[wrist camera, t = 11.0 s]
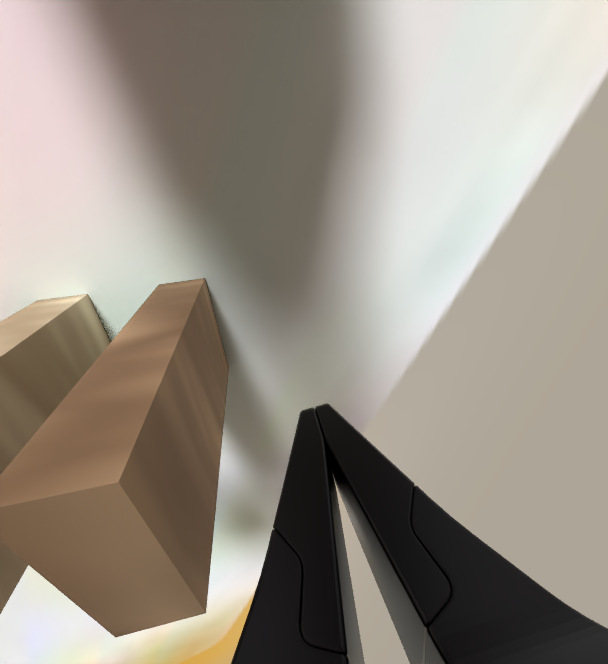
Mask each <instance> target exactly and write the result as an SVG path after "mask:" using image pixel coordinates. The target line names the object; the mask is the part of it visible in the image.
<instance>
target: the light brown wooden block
mask: <svg viewBox="0 0 608 664" xmlns="http://www.w3.org/2000/svg"><path fill="white" fill-rule="evenodd" d="M110 343H111V342H110V340H109V338H108V336H107V334H106V332H105V330H104V328H103V325H102V323H101V321H100V319H99V317H98V315H97V313H96V311H95V309H94V307H93V305H92V302H91V300H90V298H89V296H88V294H85V295H77V296H70V297H62V298H54V299H46V300H38V301H36V302H34V303H32V304H31V305H29V306H27V307H25V308H24V309H22V310H20V311H18V312H17V313H15V314H13V315H11V316H10V317H8V318H6V319H5V320H3V321H1V322H0V475H1V474H2V473H3V471H4V470H5V469H6V468H7V467H8V465H9V464H10V463H11V462H12V461H13V459H14V458H15V457H16V456H17V455H18V453H19V452H20V451H21V450H22V449H23V447H24V446H25V445H26V444H27V443H28V441H29V440H30V439H31V438H32V437H33V435H34V434H35V433H36V432H37V431H38V429H39V428H40V427H41V426H42V425H43V423H44V422H45V421H46V420H47V419H48V417H49V416H50V415H51V414H52V413H53V411H54V410H55V409H56V408H57V407H58V405H59V404H60V403H61V402H62V401H63V399H64V398H65V397H66V396H67V395H68V393H69V392H70V391H71V390H72V389H73V387H74V386H75V385H76V384H77V383H78V381H79V380H80V379H81V378H82V377H83V375H84V374H85V373H86V372H87V371H88V369H89V368H90V367H91V366H92V365H93V363H94V362H95V361H96V360H97V359H98V357H99V356H100V355H101V354H102V353H103V351H104V350H105V349H106V348H107V347H108V345H109V344H110ZM27 566H28V564H27V563H26V562H25V561H24V560H22V559H21V558H20V557H19V556H18V555H16V554H15V553H14V552H13V551H12V550H10V549H9V548H8V547H7V546H6V545H4V544H3V543H2V542H1V541H0V614H1V612H2V610H3V608H4V607H5V605H6V603H7V601H8V600H9V598H10V596H11V594H12V593H13V591H14V589H15V587H16V585H17V584H18V582H19V580H20V578H21V577H22V575H23V573H24V571H25V570H26V568H27Z"/></svg>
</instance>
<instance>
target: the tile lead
mask: <svg viewBox="0 0 608 664" xmlns="http://www.w3.org/2000/svg"><path fill="white" fill-rule="evenodd" d="M228 371H229V366H228V362H227V359H226V355H225V351H224V348H223V344H222V340H221V337H220V333H219V329H218V325H217V322H216V318H215V314H214V311H213V307H212V303H211V300H210V296H209V292H208V289H207V285H206V281H205V278H203V279H196V280H189V281H181V282H174V283H167V284H160V285H158V286H157V288H156V289H155V290H154V291H153V292H152V294H151V295H150V296H149V297H148V298H147V300H146V301H145V302H144V303H143V304H142V306H141V307H140V308H139V309H138V311H137V312H136V313H135V314H134V315H133V317H132V318H131V319H130V320H129V321H128V323H127V324H126V325H125V326H124V327H123V329H122V330H121V331H120V332H119V333H118V335H117V336H116V337H115V338H114V339H113V341H112V342H111V343H110V344H109V345H108V347H107V348H106V349H105V350H104V351H103V353H102V354H101V355H100V356H99V357H98V359H97V360H96V361H95V362H94V363H93V365H92V366H91V367H90V368H89V369H88V371H87V372H86V373H85V374H84V375H83V377H82V378H81V379H80V380H79V381H78V383H77V384H76V385H75V386H74V387H73V389H72V390H71V391H70V392H69V393H68V395H67V396H66V397H65V398H64V399H63V401H62V402H61V403H60V404H59V405H58V407H57V408H56V409H55V410H54V411H53V413H52V414H51V415H50V416H49V417H48V419H47V420H46V421H45V422H44V423H43V425H42V426H41V427H40V428H39V429H38V431H37V432H36V433H35V434H34V435H33V437H32V438H31V439H30V440H29V441H28V443H27V444H26V445H25V446H24V447H23V449H22V450H21V451H20V452H19V453H18V455H17V456H16V457H15V458H14V459H13V461H12V462H11V463H10V464H9V465H8V467H7V468H6V469H5V470H4V471H3V473H2V474H1V475H0V541H1V542H2V543H3V544H4V545H6V546H7V547H8V548H9V549H10V550H12V551H13V552H14V553H15V554H16V555H18V556H19V557H20V558H21V559H22V560H24V561H25V562H26V563H27V564H28V565H30V566H31V567H32V568H33V569H34V570H36V571H37V572H38V573H39V574H40V575H42V576H43V577H44V578H45V579H46V580H48V581H49V582H50V583H51V584H52V585H53V586H55V587H56V588H57V589H58V590H59V591H61V592H62V593H63V594H64V595H65V596H67V597H68V598H69V599H70V600H71V601H73V602H74V603H75V604H76V605H77V606H79V607H80V608H81V609H82V610H83V611H85V612H86V613H87V614H88V615H89V616H91V617H92V618H93V619H94V620H95V621H97V622H98V623H99V624H100V625H101V626H103V627H104V628H105V629H106V630H107V631H109V632H110V633H111V634H112V635H113V636H115V637H119V636H123V635H126V634H130V633H134V632H137V631H141V630H145V629H149V628H152V627H156V626H160V625H163V624H167V623H171V622H174V621H178V620H182V619H186V618H189V617H193V616H197V615H200V614H204V613H206V606H207V595H208V585H209V574H210V563H211V553H212V542H213V531H214V521H215V510H216V499H217V488H218V478H219V467H220V456H221V446H222V435H223V424H224V414H225V403H226V392H227V381H228Z"/></svg>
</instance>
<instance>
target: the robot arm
mask: <svg viewBox="0 0 608 664" xmlns="http://www.w3.org/2000/svg"><path fill="white" fill-rule="evenodd" d="M333 476H334V477H333ZM334 479H335V482H334ZM335 483H336V485H337V488H338V490H339V493H340V495H341V498H342V500H343V502H344V505H345V507H346V510H347V512H348V514H349V517H350V519H351V522H352V524H353V526H354V529H355V532H356V534H357V536H358V539H359V541H360V544H361V546H362V548H363V551H364V553H365V555H366V558H367V561H368V563H369V565H370V568H371V570H372V573H373V575H374V577H375V580H376V582H377V585H378V587H379V589H380V592H381V594H382V597H383V599H384V602H385V604H386V606H387V609H388V611H389V614H390V616H391V618H392V621H393V623H394V625H395V628H396V630H397V633H398V635H399V638H400V640H401V643H402V645H403V647H404V650H405V652H406V655H407V657H408V660H409V662H410V664H608V629H607V628H605V627H604V626H602V625H600V624H598V623H596V622H595V621H593V620H591V619H589V618H587V617H586V616H584V615H582V614H581V613H579V612H578V611H576V610H574V609H572V608H571V607H570V606H568V605H566V604H565V603H563V602H562V601H561V600H559V599H558V598H556V597H555V596H554V595H552V594H551V593H550V592H548V591H547V590H546V589H544V588H543V587H542V586H540V585H539V584H538V583H536V582H535V581H534V580H532V579H531V578H530V577H529V576H527V575H526V574H525V573H523V572H522V571H521V570H519V569H518V568H517V567H515V566H514V565H513V564H511V563H510V562H509V561H508V560H506V559H505V558H504V557H502V556H501V555H500V554H498V553H497V552H496V551H495V550H493V549H491V547H489V546H488V545H487V544H485V543H484V542H483V541H481V540H480V539H479V538H478V537H476V536H475V535H474V534H472V533H471V532H470V531H469V530H467V529H466V528H465V527H464V526H462V525H461V524H460V523H459V522H457V521H456V520H455V519H454V518H452V517H451V516H450V515H449V514H448V513H446V512H445V511H444V510H443V509H442V508H441V507H440V506H439V505H437V504H436V503H435V502H434V501H433V500H431V498H429V497H428V496H427V495H426V494H425V493H424V492H423V491H422V490H421V489H420V488H419V487H418V486H414V483H413V482H412V481H411V480H410V479H409V478H408V477H407V476H406V475H404V474H403V473H402V472H401V471H400V470H399V469H398V468H397V467H396V466H395V465H394V464H393V463H392V462H391V461H390V460H388V459H387V458H386V457H385V456H384V455H383V454H382V453H381V452H380V451H379V450H378V449H377V448H376V447H374V446H373V445H372V444H371V443H370V442H369V441H368V440H367V439H366V438H365V437H364V436H363V435H362V434H361V433H359V432H358V431H357V430H356V429H355V428H354V427H353V426H352V425H351V424H350V423H349V422H348V421H347V420H345V419H344V418H343V417H342V416H341V415H340V414H339V413H338V412H337V411H336V410H335V409H334V408H333V407H331V406H330V405H329V404H323V405H320V406H316V407H315V409H314V408H309V409H306V410H302V411H301V413H300V416H299V421H298V425H297V429H296V433H295V437H294V442H293V446H292V450H291V454H290V458H289V463H288V467H287V471H286V475H285V479H284V483H283V488H282V492H281V496H280V500H279V504H278V509H277V513H276V517H275V521H274V525H273V528H274V530H272V533H271V537H270V541H269V546H268V550H267V553H266V557H265V561H264V564H263V568H262V572H261V576H260V579H259V582H258V585H257V588H256V591H255V595H254V598H253V601H252V604H251V607H250V610H249V613H248V616H247V619H246V622H245V625H244V628H243V630H242V633H241V636H240V639H239V642H238V645H237V648H236V651H235V654H234V656H233V659H232V662H231V664H365V663H364V657H363V651H362V645H361V639H360V634H359V626H358V620H357V614H356V608H355V602H354V596H353V590H352V584H351V577H350V572H349V565H348V559H347V553H346V547H345V541H344V534H343V528H342V523H341V516H340V510H339V504H338V498H337V492H336V486H335Z"/></svg>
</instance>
